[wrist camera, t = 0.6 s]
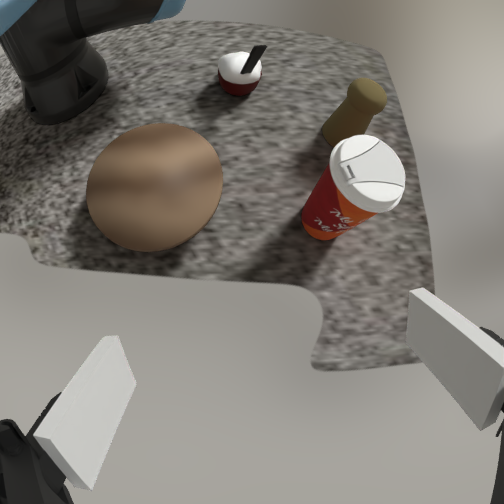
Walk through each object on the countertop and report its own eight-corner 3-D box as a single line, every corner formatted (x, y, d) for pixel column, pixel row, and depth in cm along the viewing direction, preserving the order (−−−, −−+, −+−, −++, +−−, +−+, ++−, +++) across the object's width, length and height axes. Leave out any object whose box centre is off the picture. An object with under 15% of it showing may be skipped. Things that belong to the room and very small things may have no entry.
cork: (335, 113, 43) (363, 65, 32) (365, 138, 42) (400, 94, 32) (314, 131, 41) (341, 81, 30) (346, 159, 41) (382, 113, 30)
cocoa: (220, 70, 42) (223, 9, 31) (259, 73, 43) (269, 13, 32) (213, 110, 40) (214, 44, 28) (258, 113, 40) (270, 48, 29)
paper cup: (306, 256, 36) (359, 216, 23) (283, 199, 38) (320, 135, 24) (359, 238, 38) (423, 196, 24) (336, 185, 39) (387, 126, 26)
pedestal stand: (97, 164, 35) (84, 142, 30) (205, 138, 38) (206, 112, 33) (110, 274, 33) (93, 265, 27) (234, 243, 35) (239, 229, 30)
